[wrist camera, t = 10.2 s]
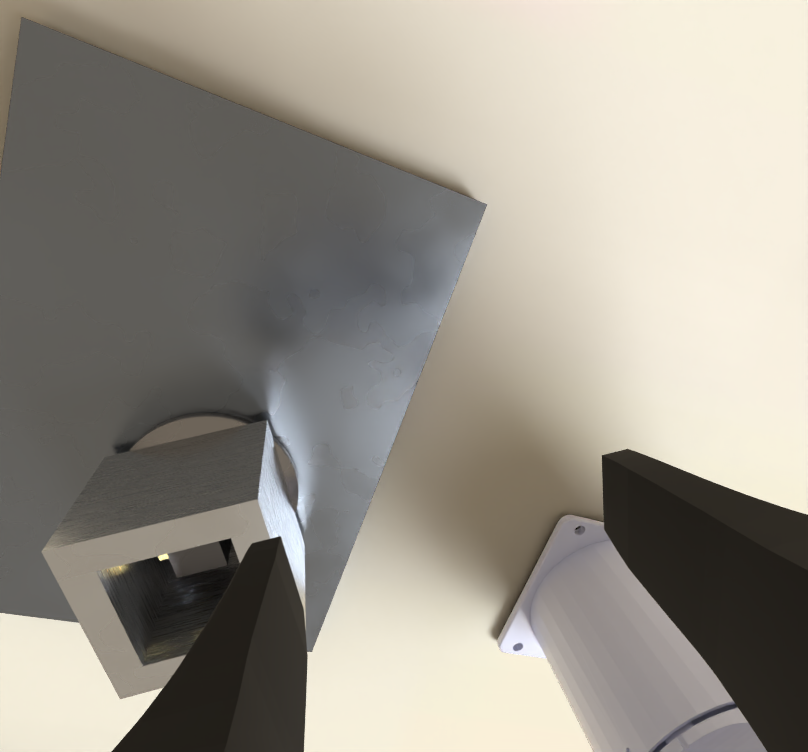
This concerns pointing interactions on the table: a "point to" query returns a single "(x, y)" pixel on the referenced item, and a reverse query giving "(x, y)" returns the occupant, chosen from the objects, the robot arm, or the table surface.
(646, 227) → the table surface
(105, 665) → the collar
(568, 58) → the table surface
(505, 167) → the table surface
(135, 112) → the plate
